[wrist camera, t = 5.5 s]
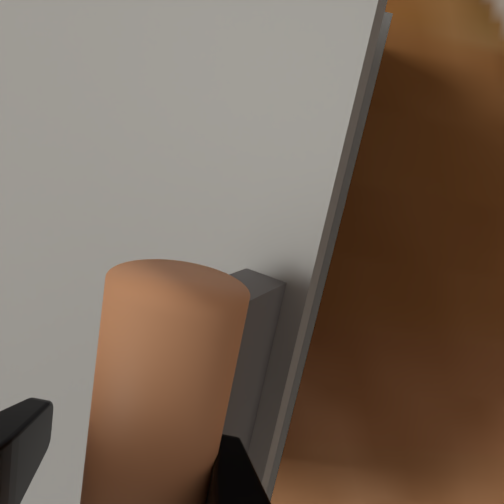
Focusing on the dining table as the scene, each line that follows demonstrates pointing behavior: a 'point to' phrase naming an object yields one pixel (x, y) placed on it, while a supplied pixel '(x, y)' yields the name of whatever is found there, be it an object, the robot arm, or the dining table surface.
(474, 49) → the dining table surface
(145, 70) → the flap
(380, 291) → the dining table surface
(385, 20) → the box
